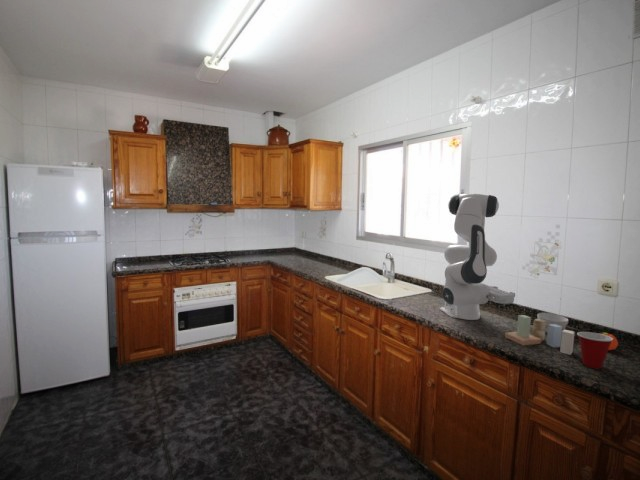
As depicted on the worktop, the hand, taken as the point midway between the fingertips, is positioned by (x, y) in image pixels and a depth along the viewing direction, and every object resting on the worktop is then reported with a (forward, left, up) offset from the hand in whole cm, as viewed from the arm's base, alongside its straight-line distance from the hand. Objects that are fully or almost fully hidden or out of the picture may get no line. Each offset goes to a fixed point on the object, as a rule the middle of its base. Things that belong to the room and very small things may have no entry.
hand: (505, 291), depth 149 cm
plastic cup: (+27, +17, -23) cm, 39 cm away
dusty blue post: (+8, +20, -23) cm, 32 cm away
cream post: (+15, +19, -23) cm, 33 cm away
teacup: (-5, +36, -23) cm, 43 cm away
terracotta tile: (0, +12, -23) cm, 26 cm away
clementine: (+16, +40, -23) cm, 49 cm away
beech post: (+1, +20, -23) cm, 30 cm away
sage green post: (0, +12, -21) cm, 24 cm away
